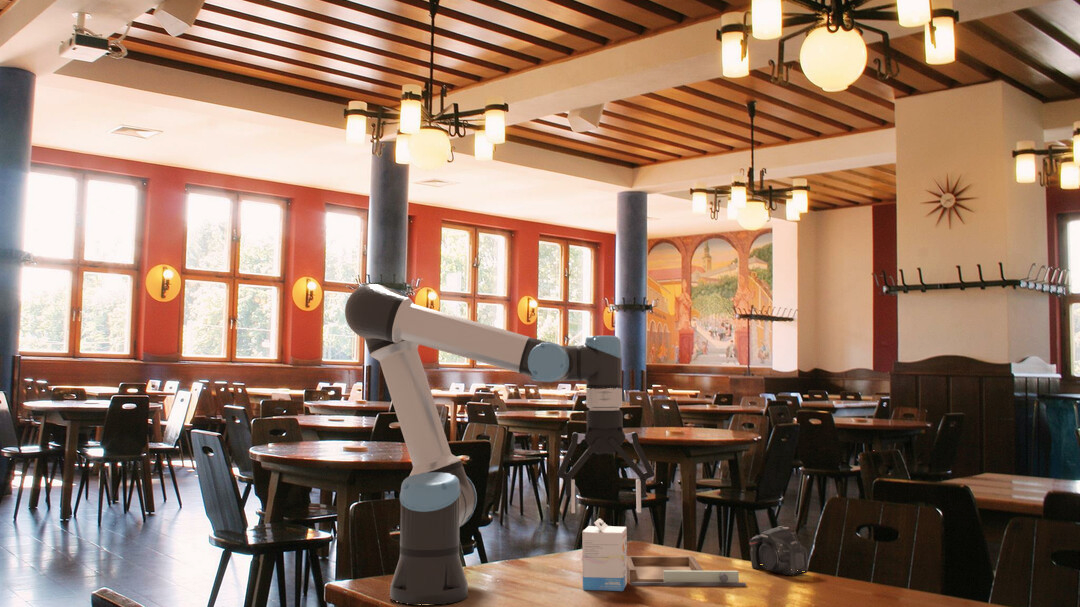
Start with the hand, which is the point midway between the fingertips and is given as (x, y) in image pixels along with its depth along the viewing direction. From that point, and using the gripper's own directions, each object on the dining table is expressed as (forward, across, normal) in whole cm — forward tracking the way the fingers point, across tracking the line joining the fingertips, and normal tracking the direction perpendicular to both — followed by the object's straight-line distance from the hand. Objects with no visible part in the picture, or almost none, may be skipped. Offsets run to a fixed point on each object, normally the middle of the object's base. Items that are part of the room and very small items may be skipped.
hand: (606, 512), depth 185 cm
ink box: (+15, 0, 0) cm, 15 cm away
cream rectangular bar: (+15, +20, +1) cm, 25 cm away
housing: (+15, +17, +9) cm, 24 cm away
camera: (+16, +39, +15) cm, 44 cm away
